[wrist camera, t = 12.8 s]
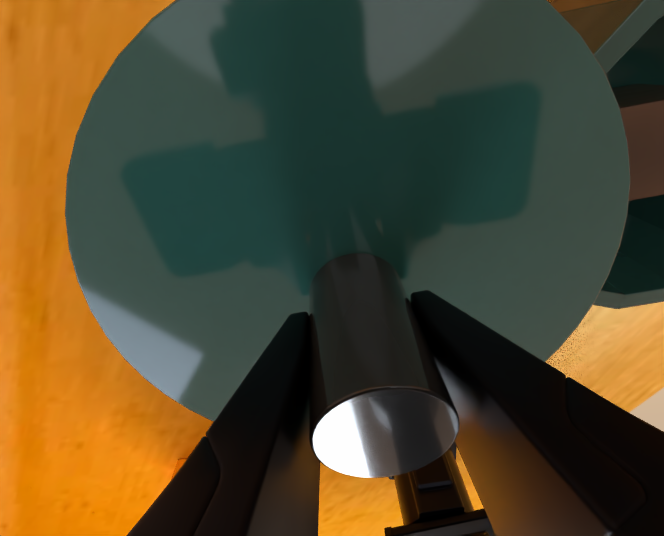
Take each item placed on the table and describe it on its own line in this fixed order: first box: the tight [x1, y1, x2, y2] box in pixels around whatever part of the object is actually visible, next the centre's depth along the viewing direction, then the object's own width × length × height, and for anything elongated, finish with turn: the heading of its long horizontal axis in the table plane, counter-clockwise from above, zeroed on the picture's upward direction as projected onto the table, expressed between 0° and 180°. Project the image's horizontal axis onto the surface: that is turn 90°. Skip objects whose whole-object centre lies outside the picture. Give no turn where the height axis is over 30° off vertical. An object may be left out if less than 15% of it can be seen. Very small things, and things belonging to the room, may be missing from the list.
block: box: [612, 84, 664, 201], centre depth 15 cm, size 4×4×4 cm
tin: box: [550, 0, 664, 309], centre depth 15 cm, size 13×13×6 cm
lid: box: [65, 0, 631, 478], centre depth 7 cm, size 14×14×5 cm
